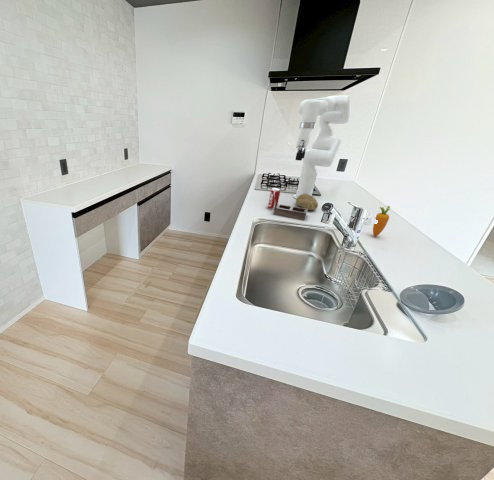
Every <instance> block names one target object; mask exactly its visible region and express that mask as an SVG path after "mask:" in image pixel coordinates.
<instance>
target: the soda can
mask: <svg viewBox="0 0 494 480" xmlns="http://www.w3.org/2000/svg"><path fill="white" fill-rule="evenodd" d="M280 195H281V189H280V188H277V187H272V188H271V189H270V192H269V199H268V203H267V209H268V210H270V211H274V210H275V207H276V206H277V205H278V204H279V199H280Z"/></svg>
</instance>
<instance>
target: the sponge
mask: <svg viewBox="0 0 494 480" xmlns="http://www.w3.org/2000/svg"><path fill="white" fill-rule="evenodd" d="M295 202H296V204H297V205H298V207H300V208H306V209H308V211H314V210H316V209H317V208H318V206H319V203H318V201H317V199H316V198H315V197H314V196H313V195H312V196H310V195H309V194H302V195H300V196H298V197H297V199H295Z"/></svg>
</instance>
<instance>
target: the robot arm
mask: <svg viewBox="0 0 494 480" xmlns="http://www.w3.org/2000/svg"><path fill="white" fill-rule="evenodd" d="M298 114H299V115H300V116H301V117H300V121H299V126H298V129H299V134H298V136H297V142H296V145H295V149H297V151H296V154H295V161H302V167H301V172H300V176H299V181H298V184H297V189H296V193H295V194H293V196H292V198H293V199H295V200H296V199H297V197H298V196H300V195H302V194H309V195H310V196H312V197H313V192H314V189H315V185H316V181H317V178H318V169H317V166H318V167H324V168H328V167H331V166H332V165H333V164H334V162H335V159H336V157H337V155H338V153H339V152H340V148H341V146H342V138H341V137H339V136H333V134H334V130H333V128H332V127H331V125H345V124H347V123H349V121H350V120H351V117H352V100H351V97H350V96H349V95H329V96H324V97H317V98H310V99H303V100H302V101H301V102H300V104H299V105H298ZM317 119H318V131H317V134H316V136H315V138H314V139H313V141H312V143H311V148H310V149H307V148H308V145H309V143H310V139H311V134H312V130H315V127H316V124H317ZM306 149H307V150H306Z"/></svg>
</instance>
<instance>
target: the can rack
mask: <svg viewBox="0 0 494 480" xmlns="http://www.w3.org/2000/svg"><path fill="white" fill-rule="evenodd" d="M308 211H309V210H308V209H306V208H303V207H301V206H295V205H288V204H281V203H278V205H277V206H276V207H275V210H273V215H274V216H278V217H285V218H290V219H295V220H300V221H306V218H307V215H308Z"/></svg>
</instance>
